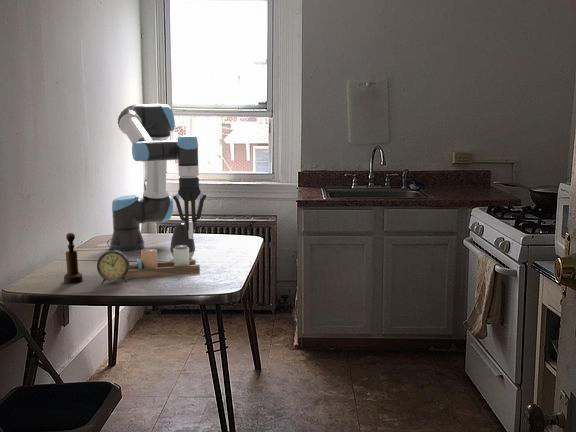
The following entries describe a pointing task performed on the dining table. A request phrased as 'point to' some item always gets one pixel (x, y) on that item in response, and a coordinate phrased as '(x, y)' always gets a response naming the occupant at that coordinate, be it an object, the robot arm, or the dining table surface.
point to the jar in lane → (149, 258)
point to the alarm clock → (113, 265)
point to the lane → (163, 270)
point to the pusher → (139, 264)
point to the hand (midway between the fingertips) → (191, 238)
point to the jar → (181, 255)
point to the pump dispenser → (182, 239)
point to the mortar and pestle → (72, 262)
